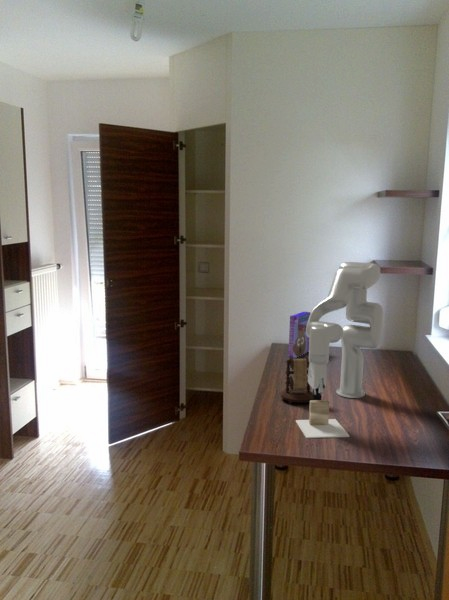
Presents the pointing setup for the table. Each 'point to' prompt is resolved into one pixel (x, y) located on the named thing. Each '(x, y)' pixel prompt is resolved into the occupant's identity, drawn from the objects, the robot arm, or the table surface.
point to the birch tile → (319, 412)
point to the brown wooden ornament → (297, 381)
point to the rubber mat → (322, 429)
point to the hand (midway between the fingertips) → (316, 403)
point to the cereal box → (298, 334)
